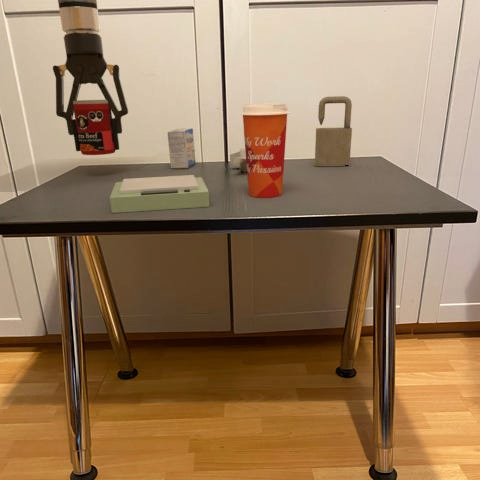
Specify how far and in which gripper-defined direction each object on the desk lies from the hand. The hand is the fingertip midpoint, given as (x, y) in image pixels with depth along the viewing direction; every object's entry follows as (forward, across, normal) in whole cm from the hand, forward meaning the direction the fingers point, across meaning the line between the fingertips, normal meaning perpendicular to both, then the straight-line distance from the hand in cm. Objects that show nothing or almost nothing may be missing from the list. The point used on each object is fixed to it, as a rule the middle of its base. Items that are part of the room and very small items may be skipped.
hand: (98, 149), depth 109 cm
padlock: (+5, -54, +4) cm, 55 cm away
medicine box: (+6, -19, -7) cm, 21 cm away
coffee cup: (+6, -32, +32) cm, 46 cm away
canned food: (+1, 0, 0) cm, 1 cm away
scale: (+6, -13, +32) cm, 35 cm away
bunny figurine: (+6, -34, +5) cm, 35 cm away
